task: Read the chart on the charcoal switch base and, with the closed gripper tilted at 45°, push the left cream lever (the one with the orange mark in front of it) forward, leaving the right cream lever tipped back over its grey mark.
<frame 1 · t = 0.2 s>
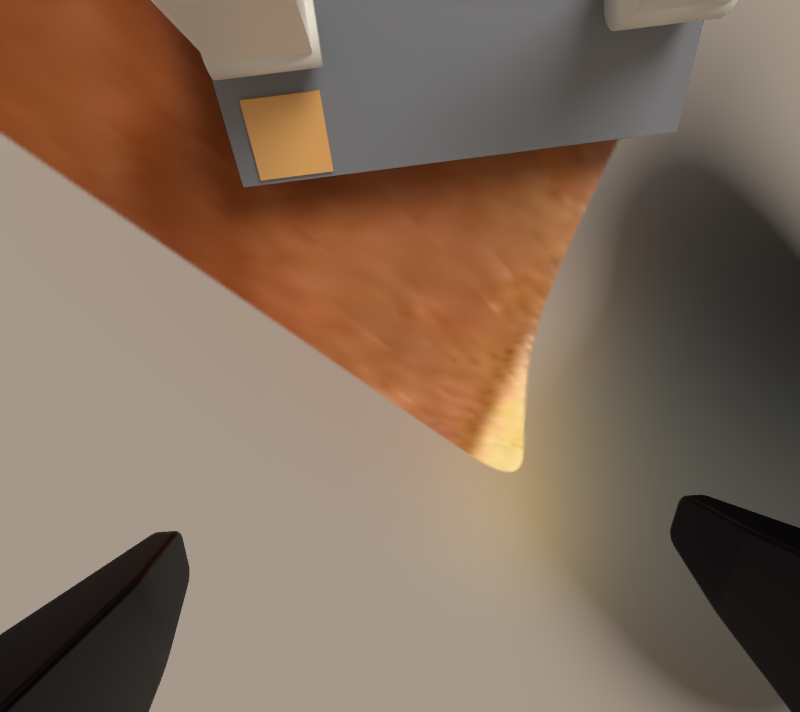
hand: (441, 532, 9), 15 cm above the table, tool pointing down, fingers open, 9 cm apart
switch base: (448, 5, 17), on the table
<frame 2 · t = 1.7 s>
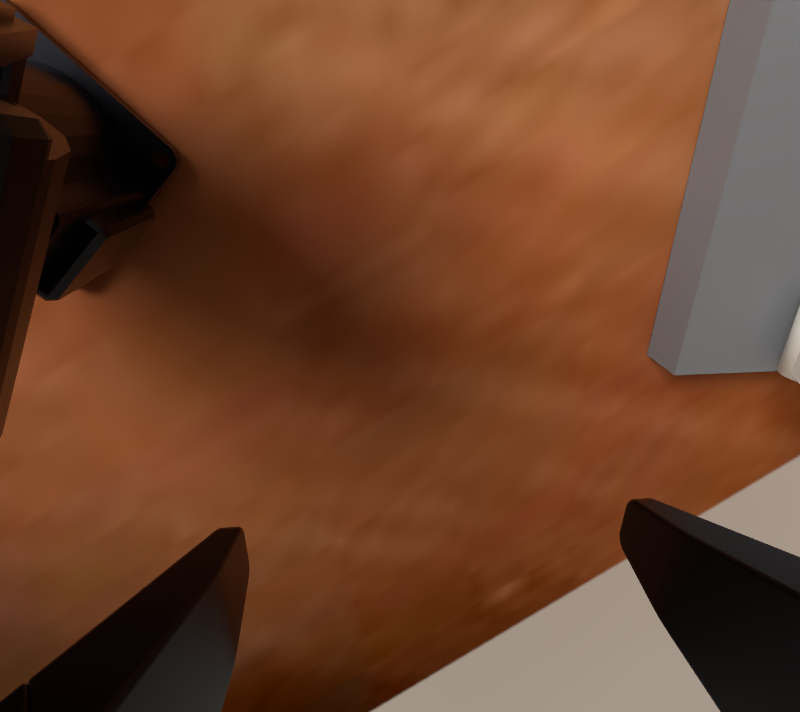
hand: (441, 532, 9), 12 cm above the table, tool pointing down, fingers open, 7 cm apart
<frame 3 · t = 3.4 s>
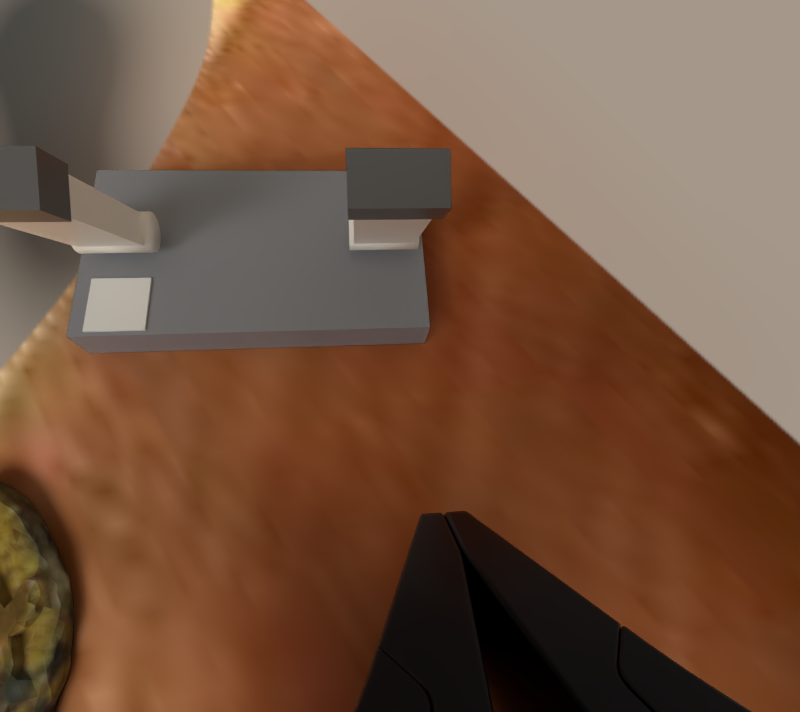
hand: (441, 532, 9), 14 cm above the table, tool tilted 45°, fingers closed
switch base: (265, 267, 26), on the table
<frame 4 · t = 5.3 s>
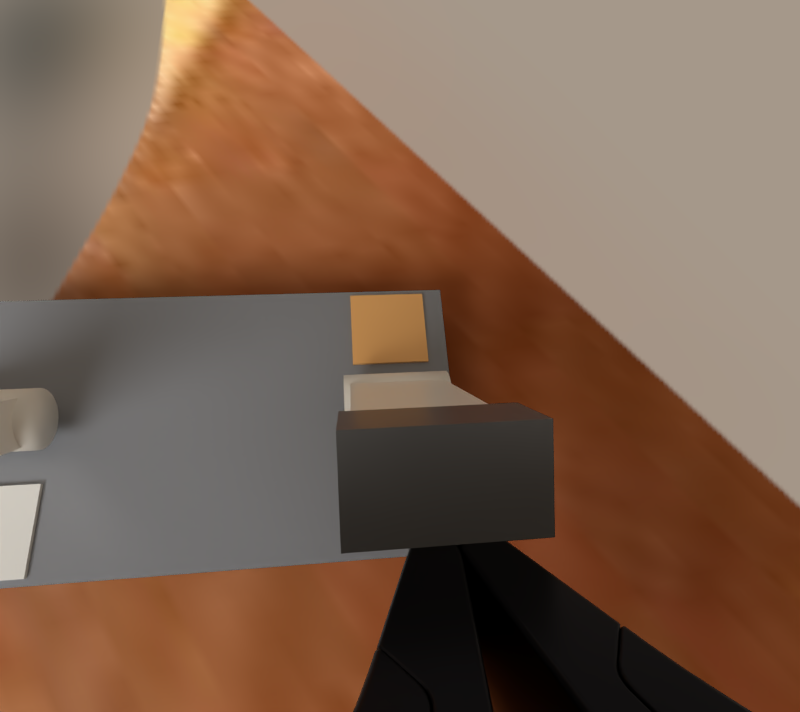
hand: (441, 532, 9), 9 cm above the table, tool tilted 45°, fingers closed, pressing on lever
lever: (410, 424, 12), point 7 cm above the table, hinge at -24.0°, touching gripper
switch base: (224, 433, 18), on the table
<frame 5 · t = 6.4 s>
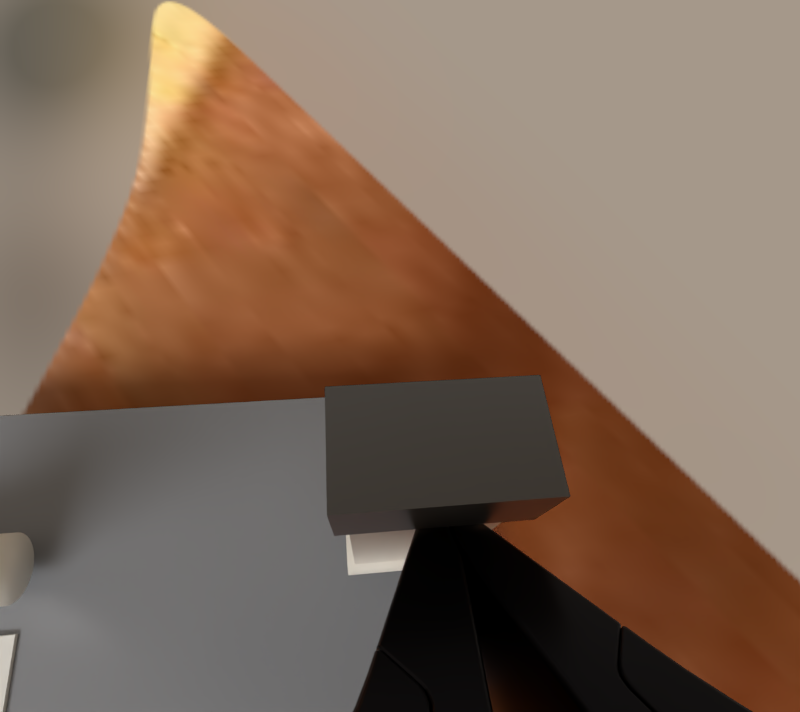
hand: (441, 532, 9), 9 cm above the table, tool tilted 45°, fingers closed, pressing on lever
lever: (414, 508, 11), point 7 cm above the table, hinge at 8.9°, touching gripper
switch base: (217, 550, 16), on the table
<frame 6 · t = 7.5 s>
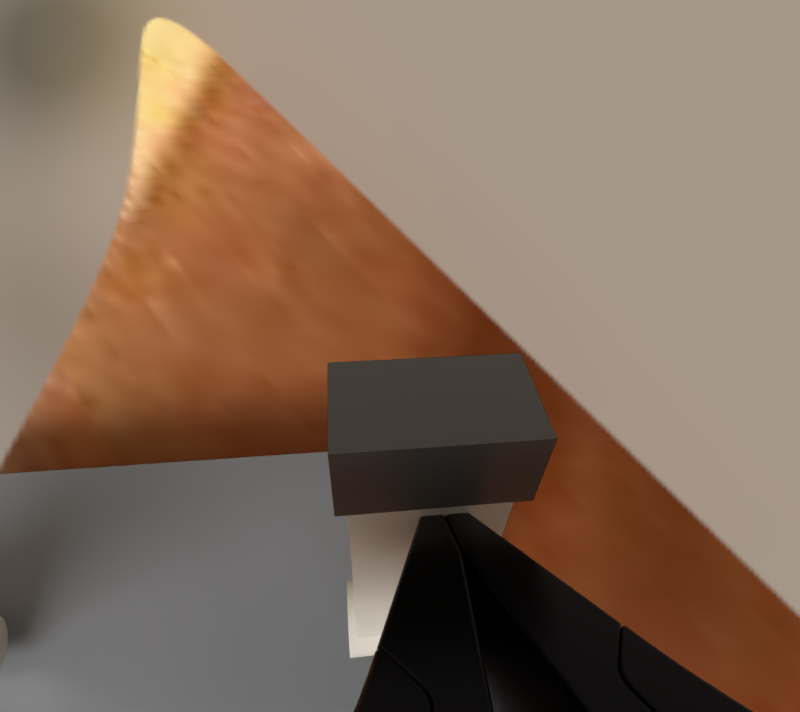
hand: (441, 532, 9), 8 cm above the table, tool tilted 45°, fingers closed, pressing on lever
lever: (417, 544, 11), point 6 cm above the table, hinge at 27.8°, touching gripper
switch base: (208, 616, 15), on the table
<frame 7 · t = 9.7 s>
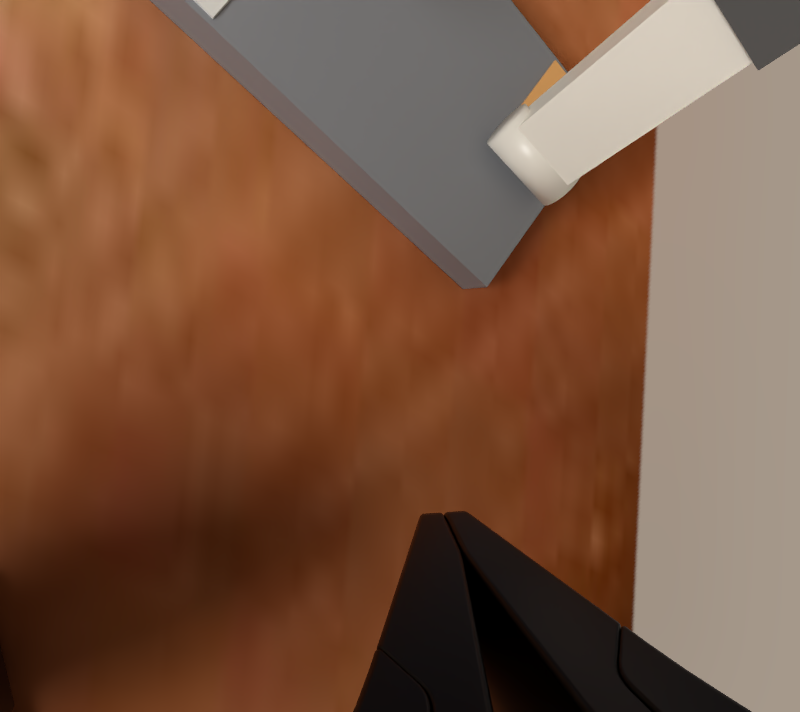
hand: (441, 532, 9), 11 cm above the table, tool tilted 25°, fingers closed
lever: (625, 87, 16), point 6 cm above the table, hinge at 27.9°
switch base: (386, 68, 19), on the table
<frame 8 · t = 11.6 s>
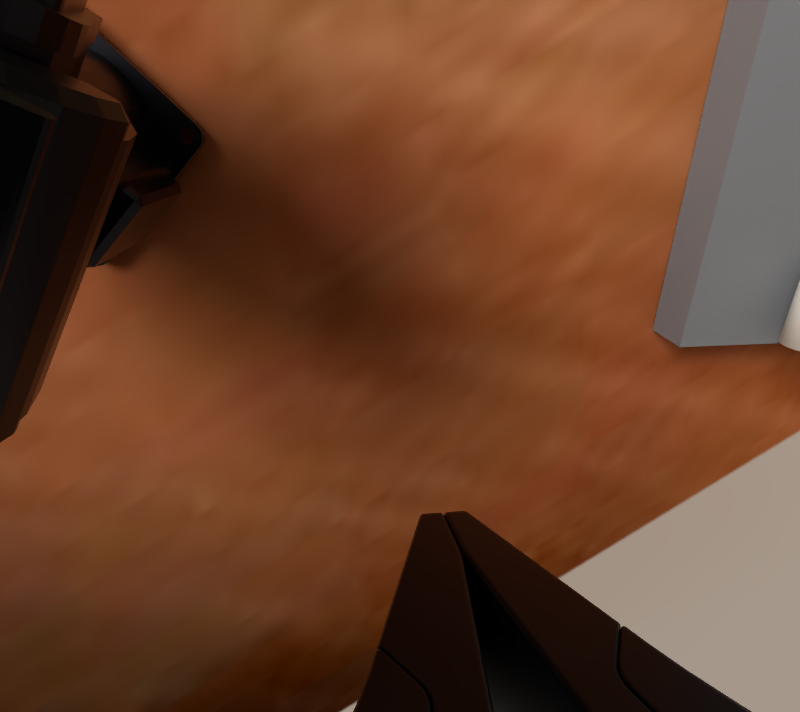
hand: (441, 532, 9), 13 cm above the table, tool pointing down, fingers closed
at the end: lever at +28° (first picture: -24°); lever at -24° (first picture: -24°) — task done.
